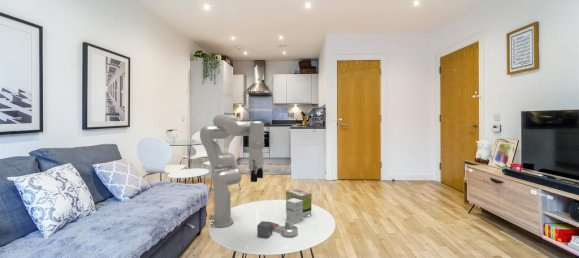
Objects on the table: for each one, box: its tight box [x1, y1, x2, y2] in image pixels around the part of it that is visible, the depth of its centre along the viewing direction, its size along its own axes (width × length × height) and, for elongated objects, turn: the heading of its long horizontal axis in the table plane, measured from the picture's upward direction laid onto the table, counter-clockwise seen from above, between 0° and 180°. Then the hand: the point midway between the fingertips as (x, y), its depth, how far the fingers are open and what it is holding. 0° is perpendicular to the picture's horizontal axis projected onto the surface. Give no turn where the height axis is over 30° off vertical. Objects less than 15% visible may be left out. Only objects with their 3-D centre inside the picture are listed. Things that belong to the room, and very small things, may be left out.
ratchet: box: [267, 220, 299, 239], centre depth 145 cm, size 22×9×6 cm, turn 54°
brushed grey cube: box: [256, 220, 274, 239], centre depth 140 cm, size 6×6×6 cm
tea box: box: [285, 188, 312, 218], centre depth 172 cm, size 15×10×15 cm, turn 38°
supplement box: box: [285, 198, 304, 224], centre depth 160 cm, size 7×7×13 cm
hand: (257, 179), depth 132 cm, fingers open, 9 cm apart
